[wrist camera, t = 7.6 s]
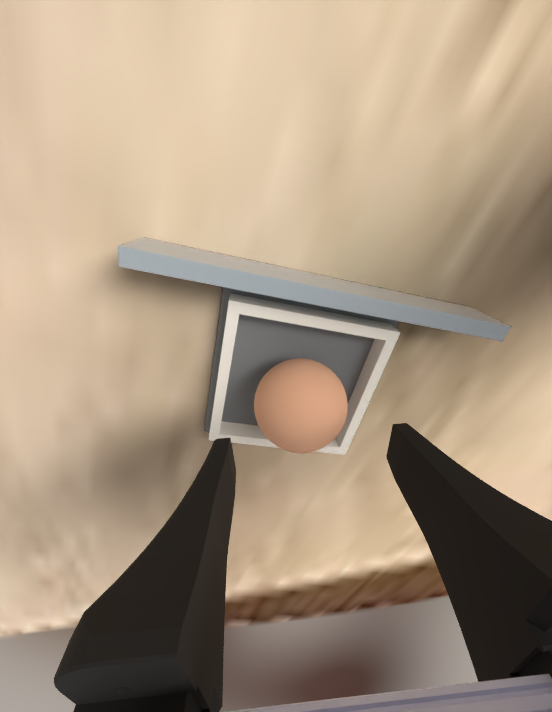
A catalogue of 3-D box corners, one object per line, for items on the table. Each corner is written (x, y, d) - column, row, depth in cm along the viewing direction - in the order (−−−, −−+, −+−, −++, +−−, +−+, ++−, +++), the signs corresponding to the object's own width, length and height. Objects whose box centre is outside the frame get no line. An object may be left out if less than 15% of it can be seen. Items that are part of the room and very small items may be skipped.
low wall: (144, 237, 14) (118, 245, 11) (470, 306, 17) (511, 326, 14) (144, 254, 14) (118, 266, 11) (463, 319, 17) (502, 341, 14)
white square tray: (224, 282, 15) (221, 290, 14) (397, 317, 17) (410, 326, 15) (204, 427, 19) (201, 444, 18) (342, 443, 21) (348, 459, 20)
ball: (250, 346, 16) (249, 398, 12) (336, 339, 17) (366, 389, 12) (256, 414, 19) (258, 479, 14) (332, 407, 19) (356, 469, 15)
